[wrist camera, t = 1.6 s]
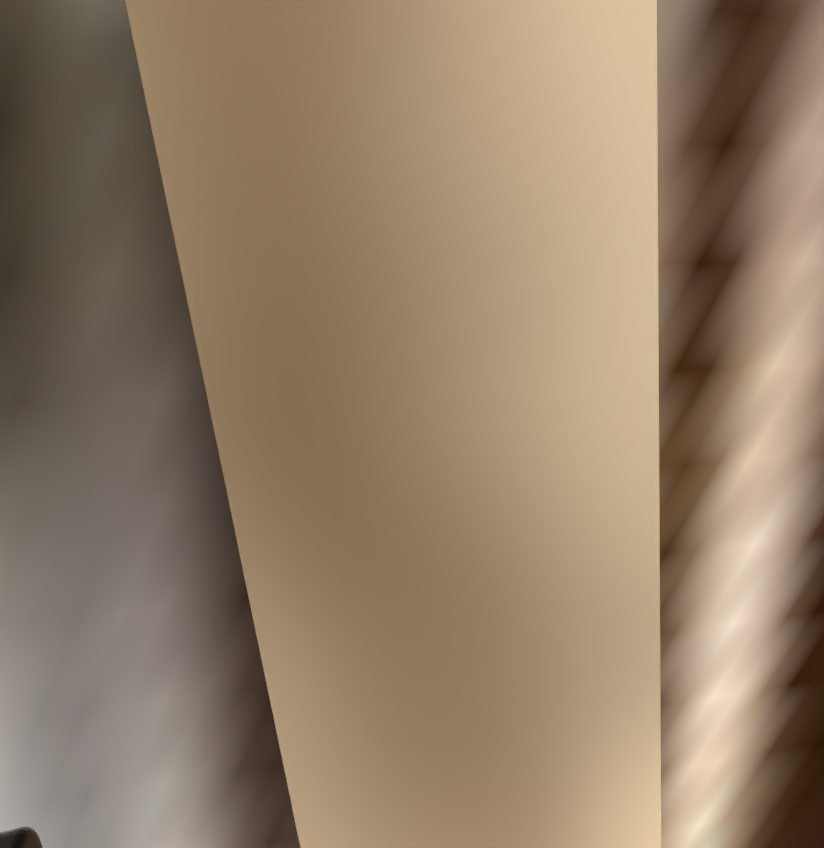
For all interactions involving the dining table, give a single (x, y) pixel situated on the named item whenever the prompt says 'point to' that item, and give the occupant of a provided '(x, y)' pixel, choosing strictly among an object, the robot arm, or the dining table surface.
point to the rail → (432, 396)
